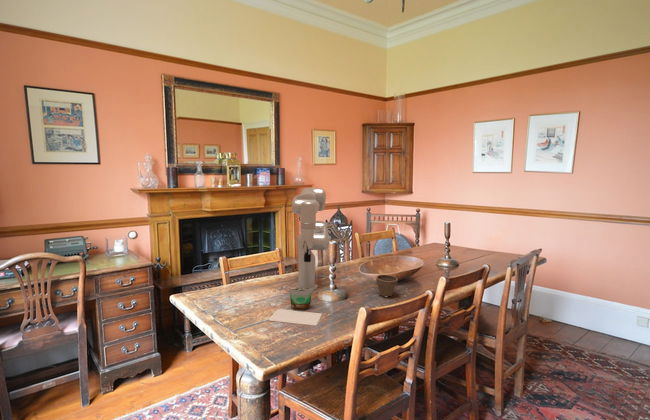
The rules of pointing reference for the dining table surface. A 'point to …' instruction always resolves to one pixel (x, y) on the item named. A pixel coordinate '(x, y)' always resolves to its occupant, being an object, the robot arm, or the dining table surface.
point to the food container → (300, 298)
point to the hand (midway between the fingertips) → (307, 261)
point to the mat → (296, 317)
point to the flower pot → (386, 284)
